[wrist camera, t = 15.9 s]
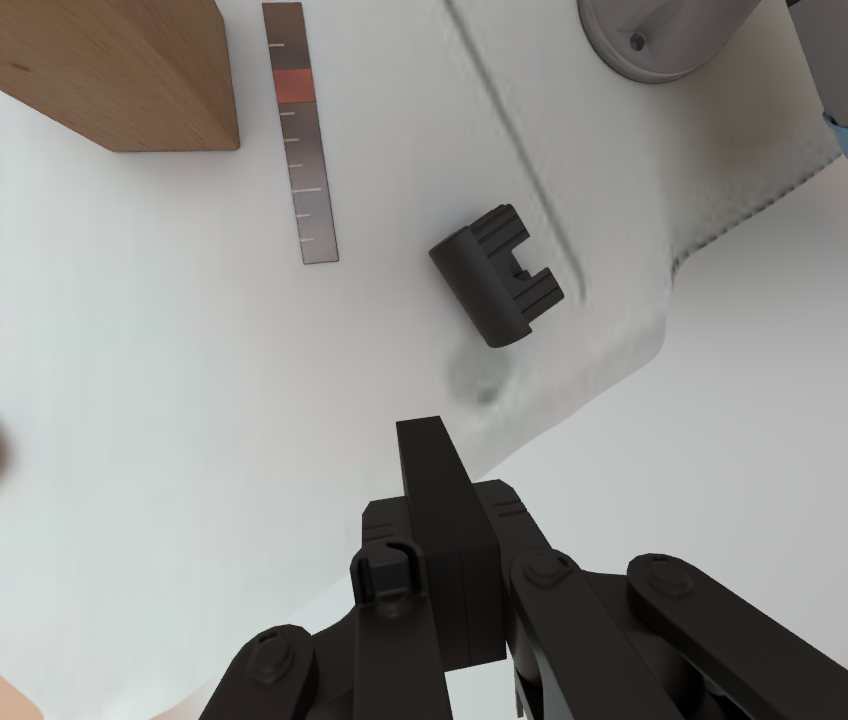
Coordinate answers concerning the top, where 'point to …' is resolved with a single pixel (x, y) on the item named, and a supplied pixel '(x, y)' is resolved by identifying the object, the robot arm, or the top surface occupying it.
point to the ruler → (301, 130)
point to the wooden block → (123, 70)
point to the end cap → (495, 277)
